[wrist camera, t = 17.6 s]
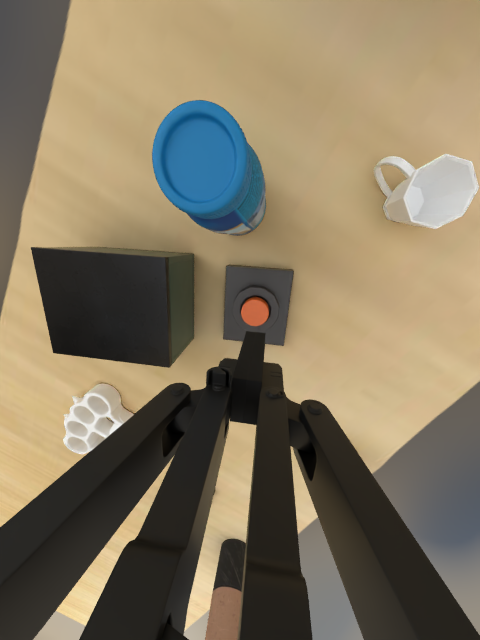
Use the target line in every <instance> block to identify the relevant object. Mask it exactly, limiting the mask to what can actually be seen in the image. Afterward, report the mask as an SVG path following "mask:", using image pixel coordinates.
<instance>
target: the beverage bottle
mask: <svg viewBox="0 0 480 640" xmlns="http://www.w3.org/2000/svg"><path fill="white" fill-rule="evenodd" d="M152 160H153V168H154V173H155V176H156V179H157V182H158V184H159V186H160V188H161V190H162V191H163V193H164V194H165V196H166V197H167V198H168V199H169V200H170V202H172V203H173V205H175V206H176V207H177V208H179V209H180V210H182V211H183V212H186V213H187V214H188V215H189V216H190V218H191V219H192V220H193V221H195V222H196V223H197V224H199V225H200V226H202V227H204V228H206V229H209V230H211V231H213V232H216V233H220V234H230V235H237V236H238V235H245V234H247V233H250V232H251V231H253V230H254V229H255V228H256V227H257V226H258V225H259V224H260V222H261V221H262V219H263V217H264V214H265V209H266V198H265V179H264V175H263V171H262V168H261V164H260V161H259V159H258V157H257V155H256V153H255V152H254V150H253V149H252V147H251V146H250V145H249V144H248V143H247V141H246V138H245V136H244V133H243V132H242V129H241V128H240V126H239V124H238V123H237V121H236V120H235V119H234V118H233V116H232V115H231V114H230V113H229V112H227V111H226V110H225V109H224V108H222V107H221V106H219V105H217V104H215V103H212V102H209V101H203V100H195V101H189V102H186V103H183V104H181V105H179V106H177V107H176V108H175V109H173V110H172V111H171V112H170V113H169V114H168V115H167V116H166V117H165V118H164V120H163V121H162V123H161V124H160V126H159V128H158V131H157V133H156V136H155V139H154V144H153V153H152Z"/></svg>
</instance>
